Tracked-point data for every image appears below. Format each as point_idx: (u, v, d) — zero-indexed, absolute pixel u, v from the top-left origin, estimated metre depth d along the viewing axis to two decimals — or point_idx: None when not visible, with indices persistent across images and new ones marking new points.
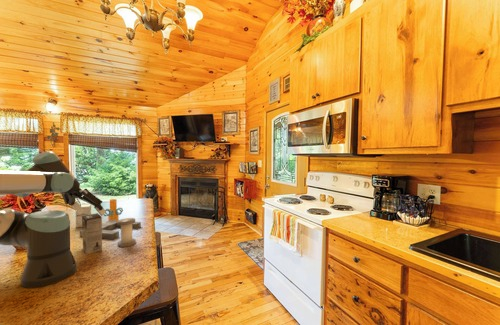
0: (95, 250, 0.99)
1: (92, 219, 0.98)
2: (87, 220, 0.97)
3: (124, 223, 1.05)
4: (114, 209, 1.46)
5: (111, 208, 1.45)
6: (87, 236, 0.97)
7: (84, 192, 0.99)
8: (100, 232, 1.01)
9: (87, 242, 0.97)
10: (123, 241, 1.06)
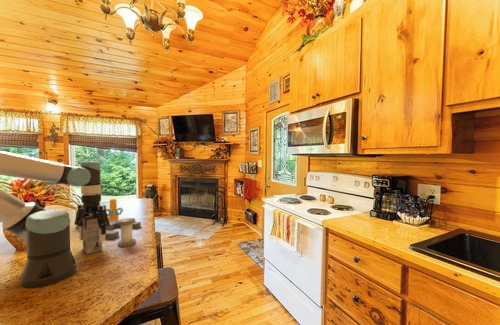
0: (95, 250, 0.99)
1: (92, 219, 0.98)
2: (87, 220, 0.97)
3: (124, 223, 1.05)
4: (114, 209, 1.46)
5: (111, 208, 1.45)
6: (87, 236, 0.97)
7: (102, 207, 1.00)
8: None
9: (87, 242, 0.97)
10: (123, 241, 1.06)
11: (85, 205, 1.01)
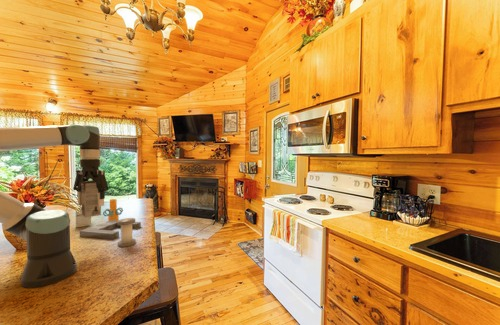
0: (94, 214, 0.99)
1: (91, 183, 0.98)
2: (86, 183, 0.96)
3: (124, 223, 1.05)
4: (114, 209, 1.46)
5: (111, 208, 1.45)
6: (86, 199, 0.97)
7: (101, 171, 0.99)
8: None
9: (86, 205, 0.97)
10: (123, 241, 1.06)
11: (84, 170, 1.01)
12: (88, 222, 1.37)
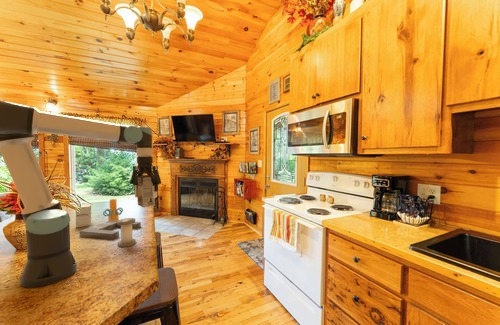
0: (149, 205, 1.13)
1: (147, 177, 1.11)
2: (143, 177, 1.10)
3: (124, 223, 1.05)
4: (114, 209, 1.46)
5: (111, 208, 1.45)
6: (143, 191, 1.10)
7: (155, 167, 1.13)
8: None
9: (143, 197, 1.10)
10: (123, 241, 1.06)
11: (140, 166, 1.14)
12: (88, 222, 1.37)
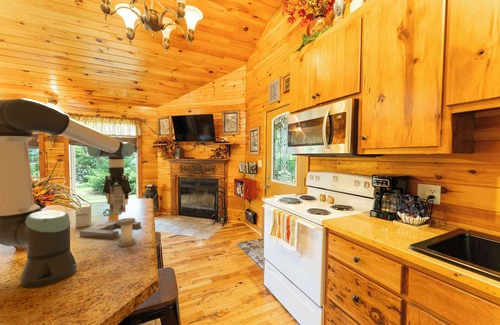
0: (120, 211, 1.23)
1: (118, 186, 1.22)
2: (114, 186, 1.21)
3: (124, 223, 1.05)
4: None
5: None
6: (114, 199, 1.21)
7: (125, 177, 1.24)
8: None
9: (114, 204, 1.21)
10: (123, 241, 1.06)
11: (111, 176, 1.25)
12: (88, 222, 1.37)
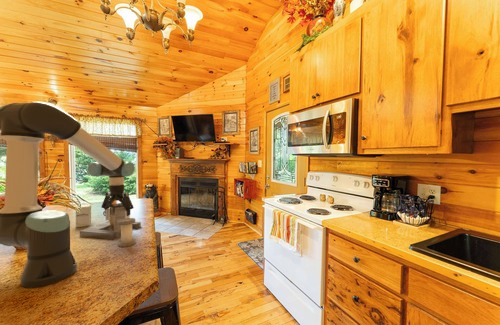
0: None
1: (119, 207, 1.22)
2: (115, 207, 1.21)
3: (124, 223, 1.05)
4: None
5: None
6: (115, 220, 1.21)
7: (126, 194, 1.24)
8: None
9: (115, 225, 1.21)
10: (123, 241, 1.06)
11: (112, 193, 1.25)
12: (88, 222, 1.37)
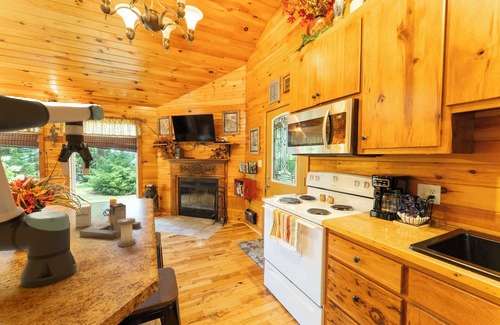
0: None
1: (119, 207, 1.22)
2: (115, 207, 1.21)
3: (124, 223, 1.05)
4: None
5: None
6: (115, 220, 1.21)
7: (84, 144, 1.11)
8: (125, 217, 1.25)
9: (115, 225, 1.21)
10: (123, 241, 1.06)
11: (69, 144, 1.12)
12: (88, 222, 1.37)
